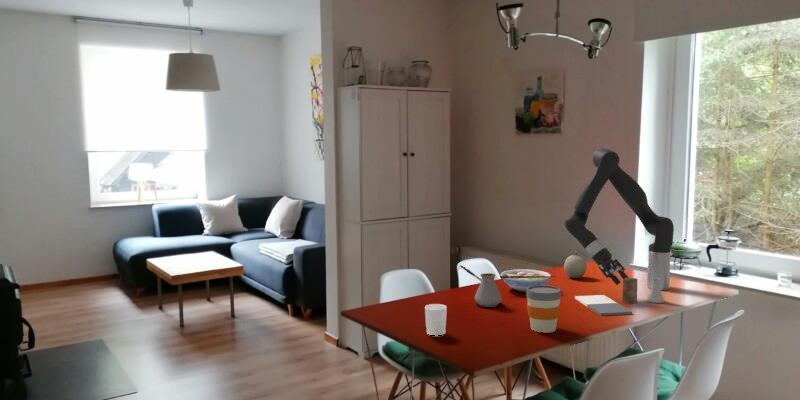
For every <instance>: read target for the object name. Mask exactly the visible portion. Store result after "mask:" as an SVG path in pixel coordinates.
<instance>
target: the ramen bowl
mask: <svg viewBox="0 0 800 400" xmlns="http://www.w3.org/2000/svg"><path fill="white" fill-rule="evenodd" d="M499 278H500V279H502V280H503V282H504V283H505V284H506V285H507V286H508V287H510V288H512V289H514V290H517V291H518V292H523V293H527V288H528V287H530V286H535V285H547V283H548V282H549V281H550V280H551V278H556V276H551V274H550V273H549V272H546V271H543V270H536V269H529V268H528V269H524V268H522V269H509V270H504V271H503V272H501V273H500V275H499Z"/></svg>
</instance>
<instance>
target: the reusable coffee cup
mask: <svg viewBox="0 0 800 400" xmlns="http://www.w3.org/2000/svg"><path fill="white" fill-rule="evenodd" d="M561 291H562V290H561V288H559V287H558V286H553V285H547V284H545V285H535V286H530V287H528V288H527V292H525V293H526V295H525V297H526V299H527V303H526V308H527V315H528V316H529V323H530V329H531V330H532V331H533V330H534V331H533V332H536V331H537V332H536V333H541V332H543V333H544V334H545V333H547V334H548V333H553V332H555V331H556V330H557V322H558V318H559V317H560V310H561V304H560V303H561V298H562V292H561ZM543 333H542V334H543Z"/></svg>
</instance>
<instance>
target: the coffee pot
mask: <svg viewBox="0 0 800 400" xmlns="http://www.w3.org/2000/svg"><path fill="white" fill-rule="evenodd" d="M459 268H460V269H463V270H465V272H466V273H468V274H469V275H471V276H472V277H475V278H476V279H477V280H479V281H480V284H479V285H478V289H477V290H476V292H475V295H474V301H475V302H476V303H477V304H478V306H480V307H485V308H493V307H494V308H495V307H497V306H498V305H499V304H500V303H501V302H502V300H503V298H502V295H501V293H500V290H499V288H498V286H497V283H496V281H495V277H496V276H497V274H496V273H495V274H494V273H491V272H490V273H486V272H485V273H481V274H480V277H481V278H480V277H479V276H478V275H476V274H475V273H473V272H472V271H471V269H468V268H466V267H465V266H464V265H459Z"/></svg>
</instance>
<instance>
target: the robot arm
mask: <svg viewBox="0 0 800 400" xmlns="http://www.w3.org/2000/svg"><path fill="white" fill-rule="evenodd" d="M592 162H593V164H594V166H595V167H596V168H597V169H596V172H595V174H594V176H593V178H591V180H590V181H589V182H588V184H587V185H586V186H584V188H583V189H582V191H581V192H580V194H579V196H578V198H577V200H576V202H575V204H574V212H573V214H572V215H570V216H568V217H566V218H565V219H564V220H565V221H564V227H565V229H566V230H567V231H568V233H569V234H570V235H572V236H573V238H575V239H576V240H577V242H579V244H580V245H581V246H582V247H583V248H584V249H585V251H586V252H587V254H588V255H589V257H590V258H591V259H592V260H593V261H594V263H595V264H596V265H597V266H598V269H599V270H600V271H601V273H602V274H603V276H605V278H606V279H608V278H609V279H611V281H613V283H614V284H615V285H616V286H619V284H621V280H620V279H619V278H618V277H617V276H616V275H615V273H616V274H618V275H620V278H621V279H622V280H623V279H624V278H627V277H629V276H628V275H627V274H626V273H625V270H626V268H625V267H624V266H623V265H622V264H621V262H620V261H618V259H616V258H615V259H614V260H613V259H612V257H613V254H612V253H611V252H610V251H609V249H608V248H607V247H606V246H605V244H603V243H602V241H600V240H599V239H598V238H597V236H596V235H595V234H594V233H593V232H592V231H591V230H589V229H588V228H587V227H586V224H587V221H588V218H589V213H590V211H592V207H594V204H595V202H596V200H597V199H598V196H599V194H600V193H601V191H602V189H604V187H605V185H606V184H607V182H608V181H609V182H610V183H611V185H612V186H613V187H614V189H615V191H616V192H617V193H618V195H619V196H620V198H621V199H622V200H623V201H624V203H626V205H627V206H628V207H629V208H630V209H631V210H632V212H633V213H634V214H635V215H636V216H637V218H638V219H639V221H640V223H641V224H642V226H643V228H644V229H645V230H646V231H647V233H648V234H650V235H652V236H654V241H653V243H649V244H648V261H647V263H648V265H647V277H646V278H647V281H646V285H647V288H648V289H650V290H651V288H652V284H653V280H652V278H660V280H659V285H660V289H661V291H667V290H669V289H670V277H671V248H672V246H673V244H674V231H675V230H674V228H675V227H674V223H673V220H672V219H671V218H670V217H666V216H661V215H658V214H657V213H655V211H654V210H653V209H652V208H651V207H650V205H649V202H648V197H647V194H646V192H645V190H644V189H643V188H642V187H641V185H640V184H639V182H637V181H636V180H635V179H634V178H633V177H632V176H630V175H629V174H628V173H627V172H626V171H624V170H623V168H621V167H620V157H619V155H618V153H617V152H615V151H613V150H611V149H607V148H599V149H597V150H595V151H594V153H593V154H592Z"/></svg>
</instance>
